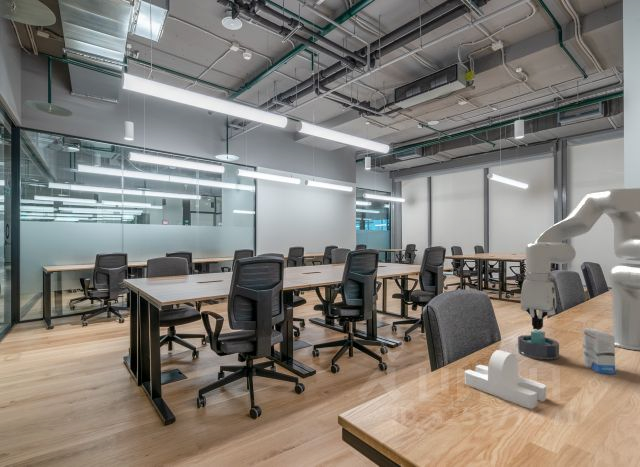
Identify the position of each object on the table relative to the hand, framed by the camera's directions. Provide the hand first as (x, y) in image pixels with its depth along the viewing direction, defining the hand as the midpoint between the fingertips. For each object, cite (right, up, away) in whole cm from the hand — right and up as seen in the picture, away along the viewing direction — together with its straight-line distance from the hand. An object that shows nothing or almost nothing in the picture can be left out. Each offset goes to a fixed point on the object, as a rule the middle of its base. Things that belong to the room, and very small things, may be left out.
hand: (537, 328), depth 122 cm
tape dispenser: (-27, -9, -28) cm, 41 cm away
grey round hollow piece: (0, -9, 0) cm, 9 cm away
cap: (0, -8, 0) cm, 8 cm away
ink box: (+11, -9, -13) cm, 20 cm away
